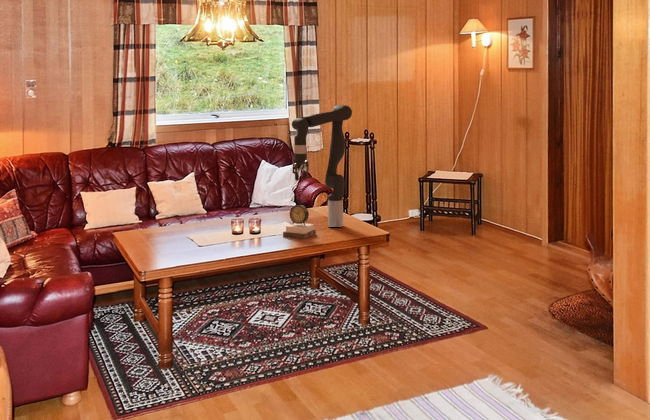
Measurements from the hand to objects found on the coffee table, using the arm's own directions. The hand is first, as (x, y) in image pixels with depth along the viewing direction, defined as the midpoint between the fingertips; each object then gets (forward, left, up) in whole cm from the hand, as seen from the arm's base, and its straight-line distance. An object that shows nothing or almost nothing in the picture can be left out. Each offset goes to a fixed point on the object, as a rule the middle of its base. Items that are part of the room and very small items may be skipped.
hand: (300, 179), depth 424 cm
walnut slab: (+8, +4, -33) cm, 34 cm away
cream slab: (+8, +4, -29) cm, 31 cm away
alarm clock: (+8, +4, -26) cm, 27 cm away
